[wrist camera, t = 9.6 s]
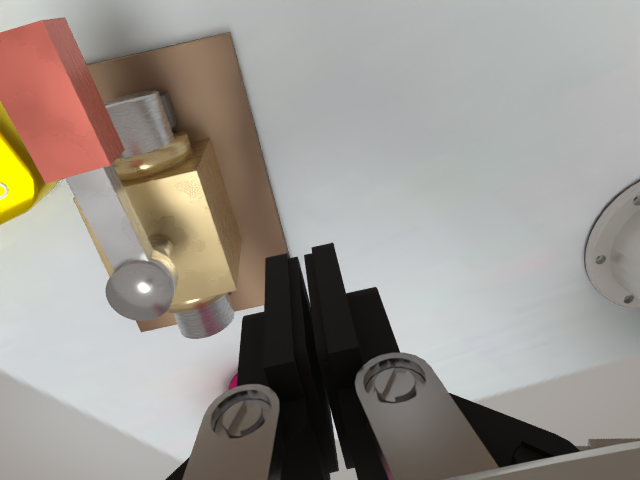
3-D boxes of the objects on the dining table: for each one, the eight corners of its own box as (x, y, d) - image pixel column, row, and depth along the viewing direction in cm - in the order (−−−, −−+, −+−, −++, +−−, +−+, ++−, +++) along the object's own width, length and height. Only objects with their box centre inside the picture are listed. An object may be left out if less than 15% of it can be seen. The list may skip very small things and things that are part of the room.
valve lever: (189, 286, 28) (182, 311, 25) (133, 301, 28) (122, 327, 26) (67, 16, 21) (44, 19, 19) (-4, 37, 21) (-35, 42, 19)
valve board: (230, 32, 32) (228, 33, 31) (297, 287, 41) (298, 297, 40) (35, 76, 32) (25, 80, 31) (145, 321, 42) (141, 332, 40)
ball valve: (191, 77, 32) (160, 110, 23) (256, 284, 39) (251, 371, 30) (85, 101, 32) (13, 144, 23) (169, 304, 39) (139, 395, 30)
